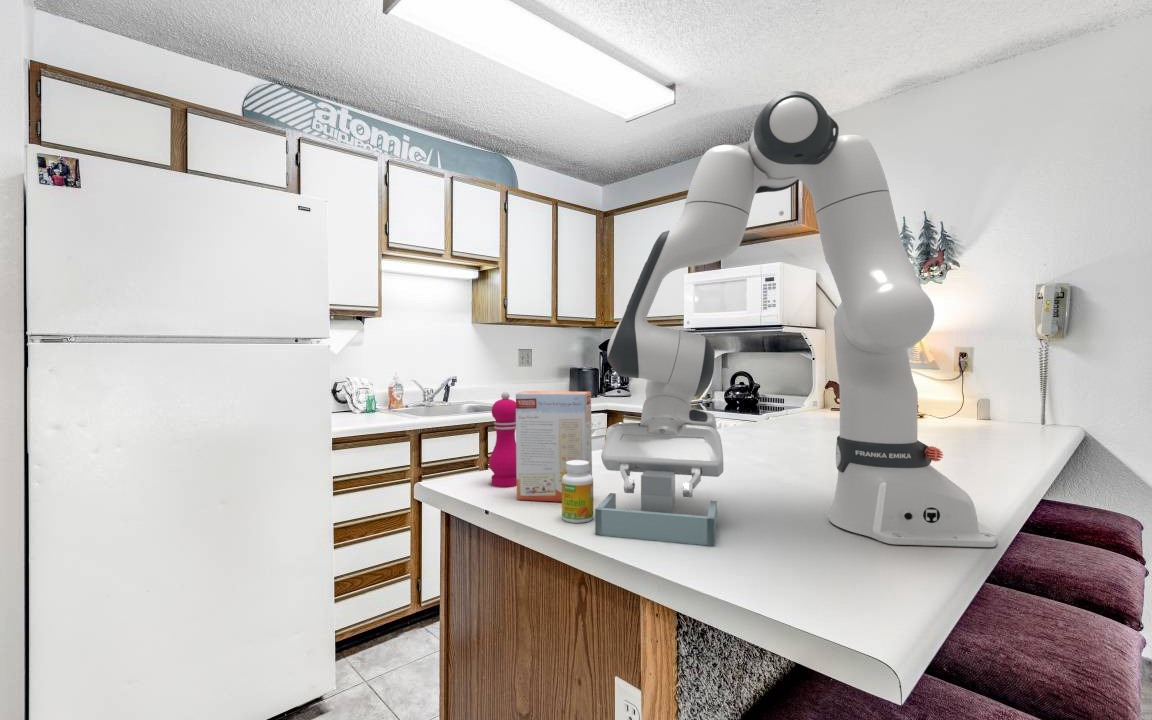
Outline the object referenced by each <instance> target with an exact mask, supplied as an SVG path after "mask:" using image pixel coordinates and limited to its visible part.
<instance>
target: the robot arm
mask: <svg viewBox="0 0 1152 720" xmlns="http://www.w3.org/2000/svg"><path fill="white" fill-rule="evenodd" d="M834 130H835V131H834ZM839 130H840V128H839V125H838V123H837V121H835V120H834V119H833V117H831V116H830V115H829V114H828V113H827V111H826V109H825V108H824V106H823V104H822V103H821V102H820V101H819V100H818V99H817V98H816V97H814V96H813V95H811V94H810V93H808V92H803V91H798V90H795V91H794V90H793V91H792V90H791V91H788V92H784V93H781V94H780V95H777V96H776V97H774V98H773V99H771V100H770V101H769V102H768V103H767V104H766V105H765V106H764V107H763V108H762V110H760V112H759V114H758V116H757V118H756V120H755V123H754V127H753V129H752V131H751V134H750V138H749V140H748V141H746V142H745V143H742V144H737V145H734V144H721V145H715V146H713V147H711V148H709V149H708V150H707V151H705V152H704V154H703V155H702V156H701V158H700V160H699V163H698V165H697V167H696V169H695V172H694V174H693V176H692V177H693V178H692V180H691V183H690V185H689V188H688V192H687V196H686V197H685V198H686V200H685V203H684V206H683V211H682V214H681V215H680V218H679V219H678V221H677V222H676V223H675V225H673V227H672V228H671V229H670V230H666V231H663V232H661V234H659V236H658V237H657V239H656V240H655V242H654V243H653V246H652V248H651V250H650V253H649V255H648V257H647V259H646V262H645V263H644V266H643V267H642V270H641V272H640V275H639V276H638V279H637V282H636V284H635V287H634V289H633V290H632V293H631V296H630V298H629V300H628V303H627V305H626V308H625V312H624V314H623V315H622V318H621V319H620V321H619V323H618V324H617V326H616V327H615V329H614V331H613V332H612V334H611V336H610V339H609V341H608V344H607V349H606V350H607V352H606V354H607V356H606V357H607V359H606V360H607V361H608V363H609V365H610V366H611V368H612V369H613V371H615V373H616V374H617V375H618V376H619V377H624V378H625V377H626V378H633V379H643V380H646V384H645V396H646V398H645V400H644V402H643V403H642V404H643V405H642V409H641V410H642V411H641V418H640V422H618V421H617V422H616V423H615V424H612V425H610V426H608V427H607V428H606V432H605V437H604V438H605V442H604V444H603V447H602V451H601V456H600V457H601V461H602V465H603V466H604V468H605V469H606V471H611V472H613V471H615V472H620V475H621V477H622V479H623V482H624V483H623V492H624V493H625V494H634V493H635V489H636V488H635V487H636V484H635V479H633V478H629V477H630V476H631V473H644V471H645V470H646V469H648V470H664V471H675V475H679V476H680V475H681V476H691V478H690V480H689V481H688V482H683V483H682V497H683V498H691V499H692V498H693V497H694V489H695V488H696V487H698V485H699V483H701V481H702V477H714V478H715V477H716V478H718V477H720V476H721V475H722V474H723V473H724V470H725V469H724V453H723V452H724V451H723V443H722V438H721V435H720V433H719V431H718V430H717V429H718V428H717V421H716V417H715V415H714V414H713V413H711V412H707V411H704V410H701V409H698V408H695V407H692V405H691V402H692V400H693V398H695V397H697V396H699V395H700V394H701V393H703V392H704V391H705V390H706V389H707V388H708V387H709V386H710V384H711V382H712V379H713V377H714V369H715V357H716V356H715V355H716V352H715V348H714V347H713V345H712V343H711V341H710V340H709V338H707V336H703V335H701V334H697V333H693V332H689V331H684V330H681V329H680V330H679V329H674V328H670V327H669V328H668V327H664V326H659V325H655V324H652V323H650V322H648V320H647V318H648V315H649V313H650V310H651V308H652V305H653V303H654V300H655V298H656V296H657V294H658V292H659V289H660V286H661V285H662V282H663V281H664V279H665V278H666V277H667V276H668V275H669V274H670V273H672V272H674V271H676V270H680V269H684V268H689V267H697V266H703V265H708V264H709V265H710V264H713V263H717V262H720V261H723V260H724V259H726V258H727V257H729V256H731V255H732V254H733V253H735V251H736V250H737V249H738V248H739V247H740V245H741V243H742V241H743V239H744V235H745V232H746V229H747V226H748V221H749V218H750V214H751V208H752V204H753V201H754V197H755V195H756V194H761V193H773V192H775V193H776V192H781V191H784V190H788V189H789V188H791V187H793V186H795V185H796V184H797V183H798V182H799V181H800V182H801V183H802V184H804V186H805V187H806V188H807V190H808V192H809V195H810V196H811V198H812V205H813V211H814V214H815V219H816V224H817V228H818V233H819V237H820V241H821V247H822V252H823V255H824V258H825V262H826V264H827V265H828V267H829V269H830V272H831V275H832V277H833V280H834V283H835V285H836V288H837V291H838V294H839V296H840V300H841V302H840V303H839V305H838V306H837V308H836V311H835V312H834V313H835V314H834V316H833V330H834V332H833V333H834V346H835V347H834V349H835V357H836V358H835V360H836V369H837V376H838V384H839V385H838V387H839V435H838V436H837V437H836V443H835V466H836V469H837V470H838V471H837V478H836V479H837V481H836V488H835V493H834V498H833V502H832V507H831V510H830V512H829V516H828V520H829V522H830V523H831V524H833V525H835V526H836V527H838V528H841V529H843V530H845V531H848V532H851V533H854V534H857V535H863V536H865V537H869V538H872V539H875V540H876V541H879V542H881V543H885V544H889V545H899V546H900V545H903V546H904V545H908V546H934V547H935V546H938V547H941V546H942V547H966V548H967V547H970V548H972V547H973V548H994V547H996V546H997V536H996V534H995V532H994V531H992V530H991V528H989V527H988V526H986V525H985V524H983V523H982V522H979V521H978V515H977V511H976V507H975V503H974V500H973V499H972V498H971V496H970V495H969V494H968V493H967V492H966V491H965V490H964V489H962V488H961V487H960V486H958V485H957V484H956V483H955V482H953V481H952V480H951V479H949V478H948V477H947V476H945V475H944V474H943V473H942V472H940V471H939V470H937V469H936V468H935V467H933V466H932V465H931V463H932V462H940V461H941V460H942V459H943V458H944V457H943V456H944V454H943V452H944V451H941V449H940V448H937V447H936V446H933V445H932V446H929V445H927V444H925V443H924V442H922V441H919V440H918V403H919V402H918V389H917V386H916V383H915V382H914V378H913V373H912V369H911V364H910V357H909V353H908V352H909V351H908V350H909V349H911V348H914V346H916V345H917V344H918V343H919V342H921V341H922V340H923V339H925V337H926V336H927V335H928V333H929V332H930V330H931V328H932V326H933V325H934V324H933V323H934V321H935V309H934V308H935V307H934V305H933V302H932V300H931V298H930V297H929V295H928V294H927V293H926V292H925V291H924V290H923V288H922V285H921V283H920V281H919V278H918V276H917V273H916V271H915V269H914V266H913V264H912V263H911V260H910V257H909V256H908V253H907V251H906V249H905V246H904V244H903V241H902V238H901V235H900V231H899V227H898V223H897V220H896V219H897V218H896V214H895V211H894V210H895V209H894V205H893V201H892V198H891V194H890V189H889V186H888V185H889V184H888V181H887V178H886V174H885V172H884V169H883V167H882V163H881V161H880V159H879V157H878V155H877V153H876V150H875V149H874V148H875V147H874V146H873V145H872V143H871V141H870V140H869V139H868V138H866V137H865V136H863V135H859V134H852V133H851V134H842V135H839V133H840V132H839Z"/></svg>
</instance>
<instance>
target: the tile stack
mask: <svg viewBox="0 0 1152 720" xmlns="http://www.w3.org/2000/svg"><path fill="white" fill-rule="evenodd" d="M640 511H647V512H659V513H671V514H676V474H675V471H664V470H648V469H646V470H645V471H644V472H642V474H641V475H640Z"/></svg>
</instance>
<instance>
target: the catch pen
mask: <svg viewBox="0 0 1152 720" xmlns="http://www.w3.org/2000/svg"><path fill="white" fill-rule="evenodd" d="M616 499H617V498H616V493H615V492H610V493H609V494H608V495H606V496H605V498H604V499H603V500H602V501H601V502H600V503H599V504H598V505H597V506H596V508H595V509H594V511H595V512H594V513H595V514H594V515H595V516H594V518H595V519H594V521H595V524H594V532H595V533H594V534H595V536H603V537H604V536H606V537H615V538H617V537H618V538H624V539H625V538H626V539H628V538H629V539H635V540H636V539H638V540H645V541H646V540H648V541H654V542H655V541H657V542H667V543H677V542H678V544H679V543H680V544H686V543H688V544H689V545H696V544H697V545H698V546H699V545H700V546H706V545H707V546H709V547H715V541H716V535H717V528H718V501H717V500H710V502H709V507H708V510H707V515H694V514H682V513H675V514H671V513H659V512H647V511H641V510H635V509H634V510H632V509H624V508H623V509H621V508H620V509H619V508H617V506H616V505H617V503H616V501H617V500H616ZM688 544H687V545H688Z"/></svg>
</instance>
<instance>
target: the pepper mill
mask: <svg viewBox="0 0 1152 720" xmlns="http://www.w3.org/2000/svg"><path fill="white" fill-rule="evenodd" d="M500 397H501V399H498V400H496V401H495V402H494V403H493V405H492V407H491V416H492V417H493V419H494V420H495V421H494V422H493V424H494V426H493V428H494V429H495V434H496V438H495V439H496V440H495V444H494V447H493V449H492V452H491V454H490V458H489V463H488V466H489V469H490V470H491V472H492V473H493V474H492V475H491V485H492V486H494V487H497V488H511V487H517V476H516V400H514V399H510V397H511V396H510V393H509V392H507V391H503V392H502V393H501V395H500Z"/></svg>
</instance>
